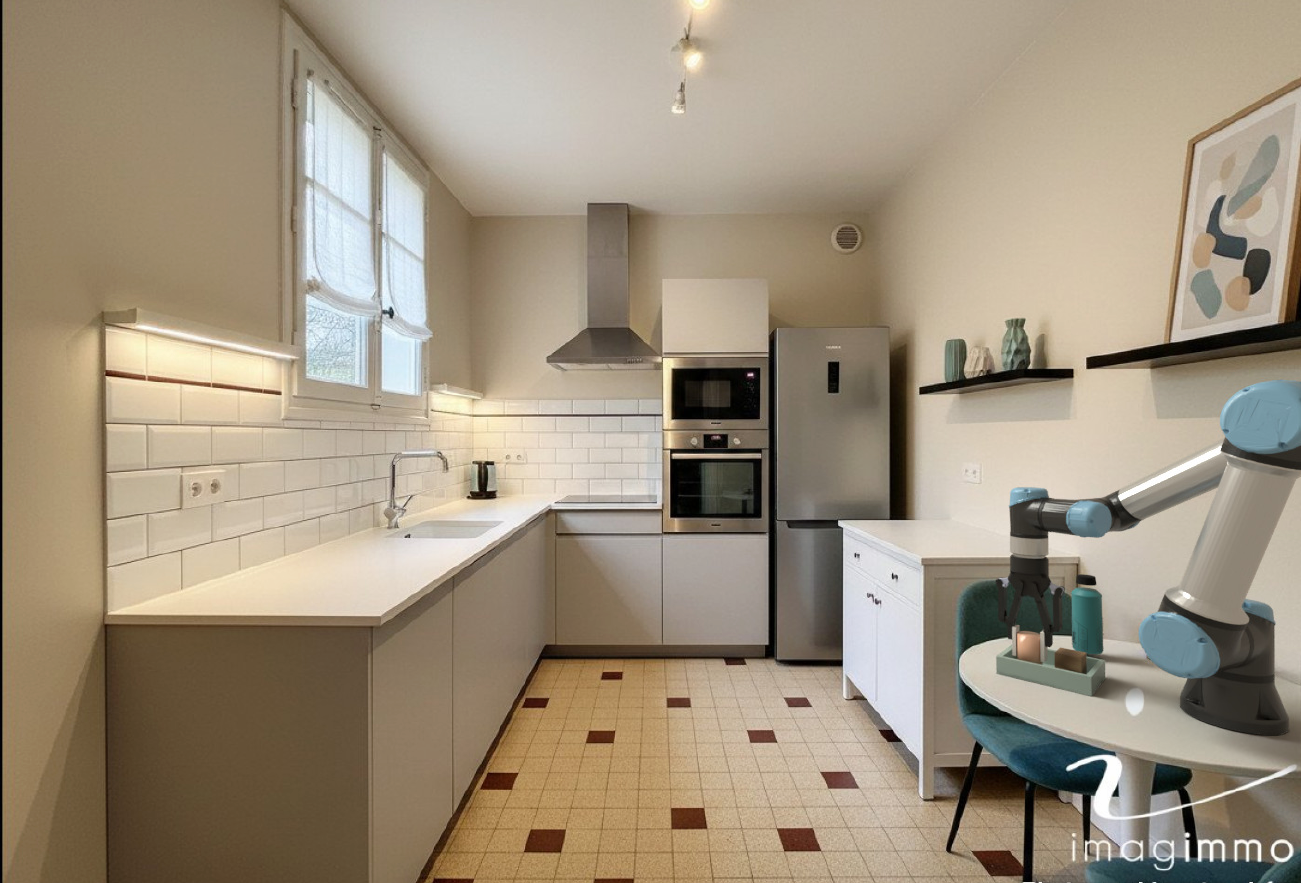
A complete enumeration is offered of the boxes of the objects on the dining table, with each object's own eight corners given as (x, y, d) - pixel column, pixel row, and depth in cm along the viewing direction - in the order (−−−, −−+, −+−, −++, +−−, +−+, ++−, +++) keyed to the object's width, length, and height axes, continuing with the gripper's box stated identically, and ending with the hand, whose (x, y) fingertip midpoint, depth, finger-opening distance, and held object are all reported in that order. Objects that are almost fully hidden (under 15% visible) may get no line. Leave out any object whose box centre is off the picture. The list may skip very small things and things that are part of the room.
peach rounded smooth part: (1045, 665, 141) (1045, 634, 141) (1039, 670, 137) (1038, 639, 137) (1021, 659, 144) (1020, 629, 144) (1014, 665, 141) (1013, 634, 141)
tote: (1105, 678, 138) (1105, 660, 138) (1091, 696, 128) (1091, 677, 128) (1015, 658, 151) (1015, 642, 151) (996, 673, 141) (996, 656, 141)
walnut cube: (1086, 674, 139) (1086, 652, 139) (1081, 681, 135) (1081, 658, 135) (1060, 669, 142) (1060, 647, 142) (1054, 675, 139) (1054, 652, 139)
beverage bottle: (1110, 660, 149) (1109, 578, 149) (1082, 661, 149) (1081, 578, 149) (1091, 651, 155) (1090, 572, 155) (1065, 651, 156) (1064, 572, 156)
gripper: (1079, 558, 137) (1080, 663, 137) (991, 548, 150) (992, 644, 150) (1071, 562, 132) (1072, 671, 132) (980, 552, 145) (981, 651, 145)
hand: (1029, 657), depth 141 cm, fingers closed on peach rounded smooth part, 5 cm apart
